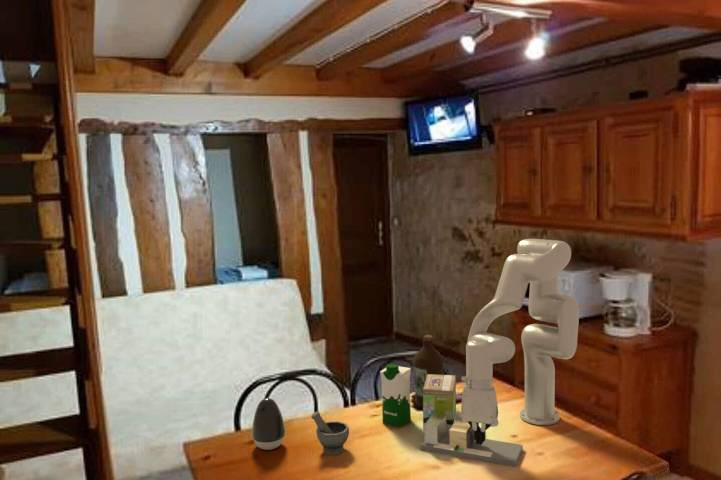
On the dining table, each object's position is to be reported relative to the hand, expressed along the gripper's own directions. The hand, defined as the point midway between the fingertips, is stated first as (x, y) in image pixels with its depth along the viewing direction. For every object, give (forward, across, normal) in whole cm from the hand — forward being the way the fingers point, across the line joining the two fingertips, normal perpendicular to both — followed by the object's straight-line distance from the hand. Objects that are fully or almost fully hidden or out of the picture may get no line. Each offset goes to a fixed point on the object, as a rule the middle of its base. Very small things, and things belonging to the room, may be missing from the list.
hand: (480, 442), depth 175 cm
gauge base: (+3, -3, 0) cm, 4 cm away
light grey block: (+1, -14, 0) cm, 14 cm away
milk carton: (+3, -31, +11) cm, 33 cm away
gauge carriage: (+1, -5, -1) cm, 6 cm away
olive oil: (+3, -26, +29) cm, 39 cm away
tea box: (+3, -17, +14) cm, 22 cm away
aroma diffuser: (+3, -61, -20) cm, 64 cm away
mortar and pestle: (+3, -42, -15) cm, 45 cm away
